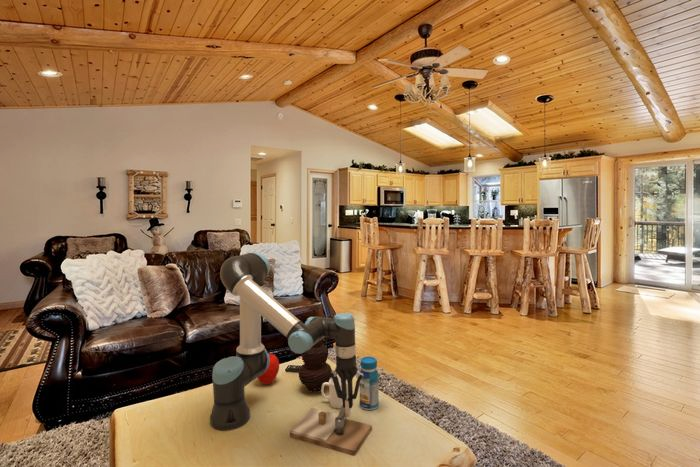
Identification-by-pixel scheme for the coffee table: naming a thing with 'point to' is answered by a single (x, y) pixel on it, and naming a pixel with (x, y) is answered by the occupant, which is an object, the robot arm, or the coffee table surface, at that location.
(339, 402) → the cup
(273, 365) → the apple
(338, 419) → the bar
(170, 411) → the coffee table surface
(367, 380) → the beverage bottle
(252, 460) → the coffee table surface
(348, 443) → the door board
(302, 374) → the vase
